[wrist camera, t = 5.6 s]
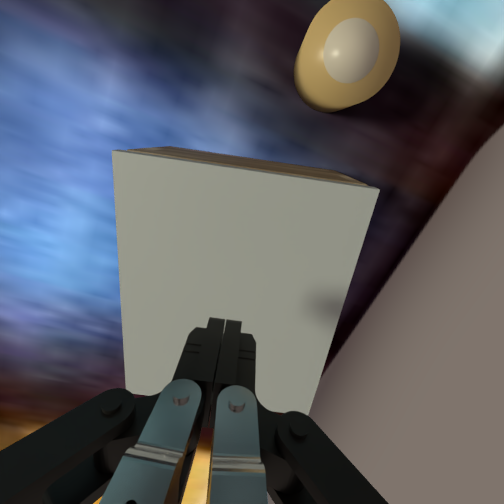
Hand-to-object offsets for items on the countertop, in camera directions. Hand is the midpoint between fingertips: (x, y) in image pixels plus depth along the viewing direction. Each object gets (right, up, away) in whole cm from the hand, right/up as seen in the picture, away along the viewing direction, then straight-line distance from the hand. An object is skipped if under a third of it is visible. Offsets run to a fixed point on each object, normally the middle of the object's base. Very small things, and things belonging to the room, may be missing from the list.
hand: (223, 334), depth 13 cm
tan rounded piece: (+7, +17, +8) cm, 21 cm away
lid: (0, 0, +6) cm, 6 cm away
